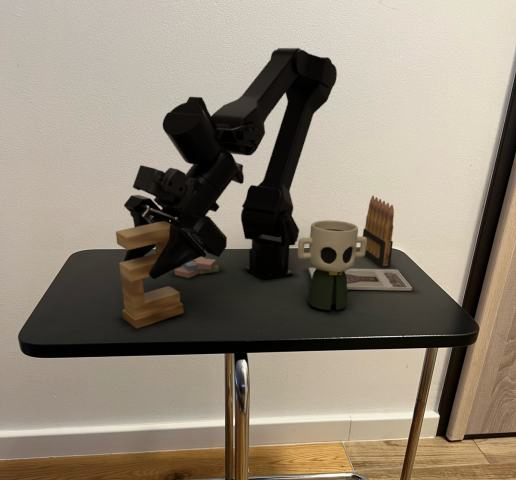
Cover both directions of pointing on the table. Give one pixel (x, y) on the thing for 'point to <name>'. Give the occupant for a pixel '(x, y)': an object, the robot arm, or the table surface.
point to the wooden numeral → (132, 271)
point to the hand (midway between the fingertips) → (138, 270)
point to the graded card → (374, 279)
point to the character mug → (331, 261)
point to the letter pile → (197, 267)
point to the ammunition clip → (379, 232)
